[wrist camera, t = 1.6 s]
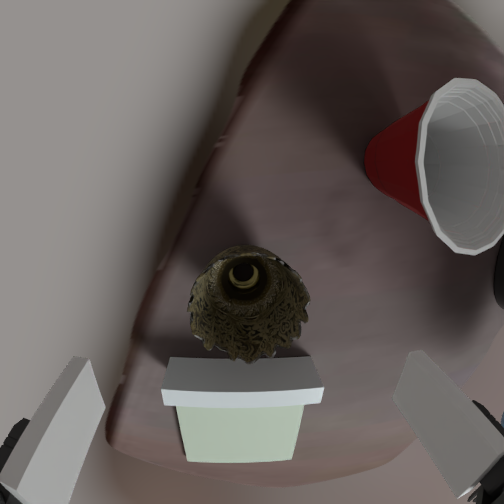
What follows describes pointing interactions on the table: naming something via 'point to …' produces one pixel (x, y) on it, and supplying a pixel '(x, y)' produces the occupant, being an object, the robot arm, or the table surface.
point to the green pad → (239, 433)
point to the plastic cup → (447, 164)
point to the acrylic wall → (241, 383)
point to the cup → (248, 304)
